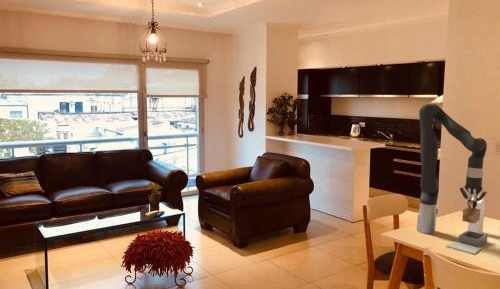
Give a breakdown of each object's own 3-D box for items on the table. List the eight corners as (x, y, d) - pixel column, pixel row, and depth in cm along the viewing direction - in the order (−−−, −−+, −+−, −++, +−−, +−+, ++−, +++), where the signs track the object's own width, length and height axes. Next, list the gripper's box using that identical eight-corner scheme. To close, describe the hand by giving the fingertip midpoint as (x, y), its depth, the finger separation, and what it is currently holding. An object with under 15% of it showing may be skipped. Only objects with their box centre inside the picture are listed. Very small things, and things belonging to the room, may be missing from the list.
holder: (458, 242, 227) (459, 235, 227) (467, 236, 236) (467, 230, 235) (478, 247, 220) (479, 240, 219) (487, 241, 228) (487, 234, 227)
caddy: (462, 220, 221) (463, 201, 220) (467, 217, 227) (469, 198, 226) (474, 223, 217) (475, 203, 216) (479, 220, 223) (481, 200, 221)
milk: (478, 234, 239) (481, 198, 236) (467, 231, 244) (470, 195, 241) (482, 232, 243) (485, 196, 240) (472, 229, 248) (475, 194, 244)
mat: (446, 246, 221) (446, 245, 221) (453, 242, 227) (453, 241, 227) (474, 254, 210) (474, 253, 210) (481, 249, 217) (481, 248, 217)
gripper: (458, 174, 221) (455, 206, 223) (486, 178, 211) (483, 211, 213) (463, 172, 226) (461, 203, 228) (491, 176, 216) (488, 208, 219)
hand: (471, 207), depth 221 cm, fingers closed on caddy, 1 cm apart
